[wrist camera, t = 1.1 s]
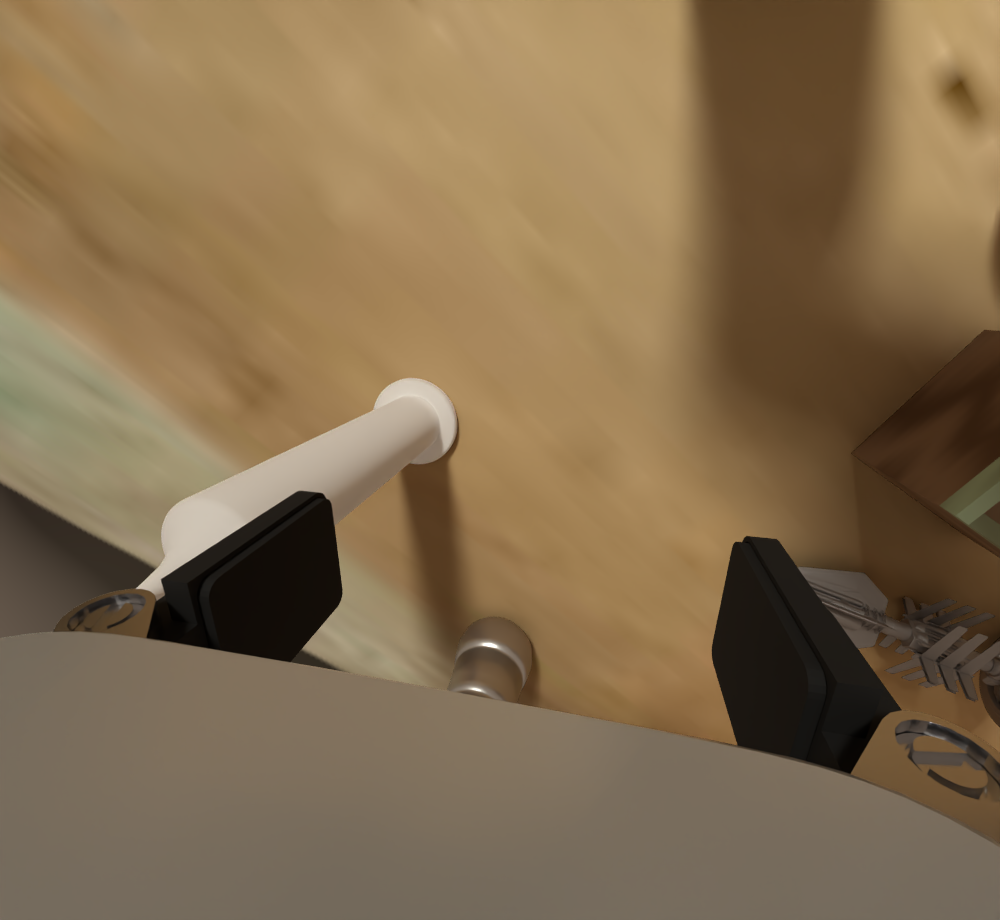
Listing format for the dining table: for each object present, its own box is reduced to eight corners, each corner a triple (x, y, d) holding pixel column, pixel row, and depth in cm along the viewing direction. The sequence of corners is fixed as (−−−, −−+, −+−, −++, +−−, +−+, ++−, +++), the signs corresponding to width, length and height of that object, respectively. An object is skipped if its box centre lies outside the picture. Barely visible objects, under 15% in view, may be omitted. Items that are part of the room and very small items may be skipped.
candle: (473, 441, 38) (270, 663, 14) (403, 474, 40) (129, 711, 17) (431, 362, 36) (132, 466, 13) (361, 400, 38) (-2, 547, 15)
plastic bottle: (518, 676, 44) (460, 946, 26) (455, 644, 45) (351, 887, 26) (547, 628, 42) (506, 887, 23) (480, 594, 42) (386, 823, 24)
